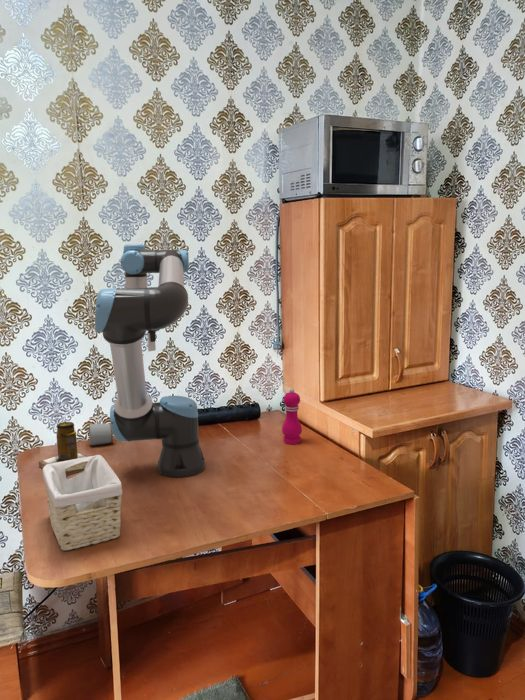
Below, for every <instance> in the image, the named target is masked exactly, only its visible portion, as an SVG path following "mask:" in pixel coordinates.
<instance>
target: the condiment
mask: <svg viewBox="0 0 525 700" xmlns="http://www.w3.org/2000/svg"><path fill="white" fill-rule="evenodd" d="M56 428H57V429H56V430H57V432H56V442H57V443H56V444H57V445H56V447H57V456H54V457H55V459H56V461H57V462H62V461H67V460H73V459H78V458H80V457H79V455H78V443H77V432H76V430H75V424H74V422H72V421H64V422H63V421H62V422H60V423H57V425H56Z"/></svg>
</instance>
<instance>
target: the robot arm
mask: <svg viewBox="0 0 525 700" xmlns="http://www.w3.org/2000/svg"><path fill="white" fill-rule="evenodd" d="M122 253H123V254H122V255H121V257H120V263H119V264H120V266H121V268H122V270H123V271H124V275H125V276H124V279H125V280H124V281H125V282H124V283H125V287H123V288H120V287H119V288H117V287H112V288H102V289H100V290H99V291H98V292H97V295H96V300H95V313H94V329H95V332H96V333H101V334H102V337H103V339H104V341H106V342H107V343H108V344H109V346H110V351H111V353H110V354H111V359H112V367H113V373H114V379H115V380H114V381H115V389H116V394H117V398H116V399H115V401H114V404H112V405H111V407H110V410H109V421H110V422H109V423H110V424H111V428H112V432H113V438H115V439H116V440H117V441H119V442H137V441H152V440H161V441H162V442H161V443H162V445H161V450H160V453H159V454H160V455H159V459H158V462H157V471H158V473H159V474H161V475H163V476H166V477H169V478H170V477H171V478H184V477H185V478H186V477H190V476H194V475H197V474H199V473H202V472H203V471H204V470H205V468H206V460H205V457H204V453H203V451H202V448H201V446H200V442H199V441H200V438H199V436H200V435H199V419H198V417H199V413H198V405H197V402H196V401H195V400H194V399H192V398H190V397H186V396H183V395H168V396H167V395H166V396H162V397H160V400H159V402H153V400H152V397H151V396H149V394H147V388H146V387H147V384H146V376H145V366H144V357H143V356H144V355H143V345H142V339H143V338H145V336H146V335H147V351H148V352H154V351H156V349H157V348H156V340H157V337H156V334H157V333H156V332H159V331H160V330H163V329H165V328H168V327H171V325H173V324H175V323H176V322H177V321H178V320H180V319H181V317H183V315H184V314H185V311H187V308H188V305H189V294H188V291H187V289H186V288H185V275H184V273H188V272H189V271H190V261H189V252H188V250H186V249H179V248H177V249H153V250H152V249H151V250H150V249H146V246H145V245H144V244H143V243H141V244H138V243H136V244H130V243H129V244H124V246H123V252H122ZM148 274H159V275H158V284H157V285H158V286H154V287H152V286H151V287H148ZM146 332H147V333H146Z"/></svg>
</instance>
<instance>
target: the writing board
mask: <svg viewBox="0 0 525 700" xmlns="http://www.w3.org/2000/svg"><path fill="white" fill-rule="evenodd" d="M77 452H78V451H77ZM78 455H79V457H80V458H84V457H89V456H88V455H85V454H83V453H82V452H78ZM55 457H56V456H53V457H50V458H45V459H42V460H40V461H38V468H40V467H41V469H42V470H43V467H44V466H46V465H47V464H52V463H57V461H56V459H55ZM83 471H84V469H78V470H71V471H65V472H66V477H68V476H71V475H74V474H79V473H81V472H83Z"/></svg>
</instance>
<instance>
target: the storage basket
mask: <svg viewBox="0 0 525 700" xmlns="http://www.w3.org/2000/svg"><path fill="white" fill-rule="evenodd" d="M78 469H84V470H83V471H81V472H79V473H77V475H75V476H74V477H71V478H67V477H68V476H66V472H65V471H71V470H78ZM42 478H43V481H44V484H45V489H46V491H45V492H46V493H45V494H46V499H47V503H48V505H47V506H48V511H49V512H48V514H49V515H48V516H49V519H50V520H49V521H50V524H51V528H52V531H53V532H54V535H55V538H56V540H57V542H58V545H59V546H60V549H61V550H62V551H70V550H73V549H80V548H82V547H84V548H85V547H87V546H90V545H97V544H100V543H102V542H107V541H109V540H114V539H117V538H119V537H120V536H121V512H122V511H121V505H122V496H123V488H122V484H123V483H122V482H121V480H120V479H119V476H118V475H117V474H116V472H115V471H114V470H113V469H112V467H111V465H109V464H108V462H107V460H106V459H105V458H104V457H103V456H102V455H101V454H96V455H91V456H88V457H84V458H78V459H73V460H67V461H62V462H57V463H52V464H47V465H46V466H44V467H43V469H42Z"/></svg>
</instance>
